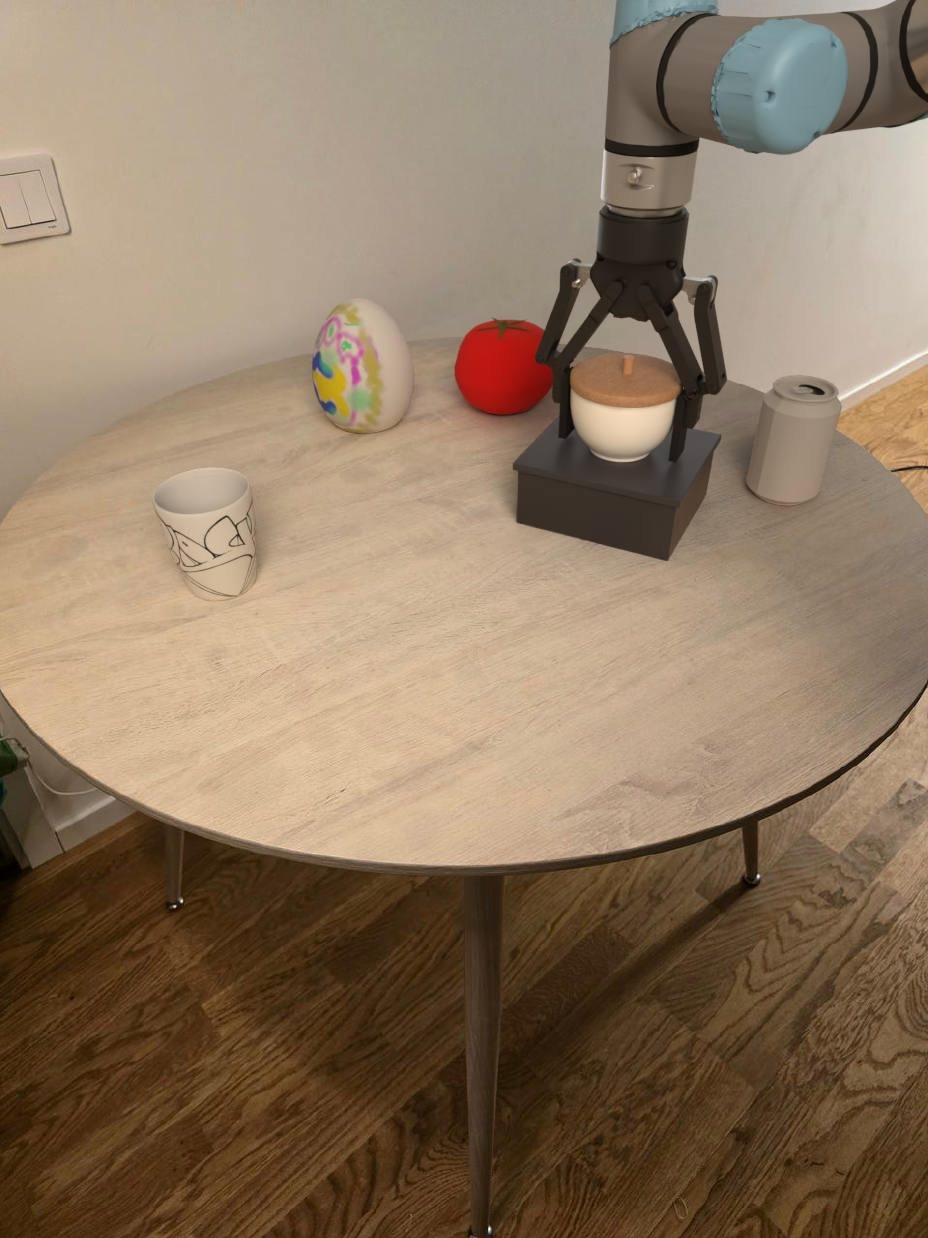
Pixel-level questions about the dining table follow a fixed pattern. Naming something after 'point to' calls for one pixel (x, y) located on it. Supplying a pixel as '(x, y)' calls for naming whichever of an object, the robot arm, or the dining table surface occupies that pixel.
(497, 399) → the tomato
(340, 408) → the decorative egg
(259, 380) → the dining table surface
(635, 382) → the lidded bowl
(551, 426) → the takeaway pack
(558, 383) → the robot arm
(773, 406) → the can
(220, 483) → the mug
